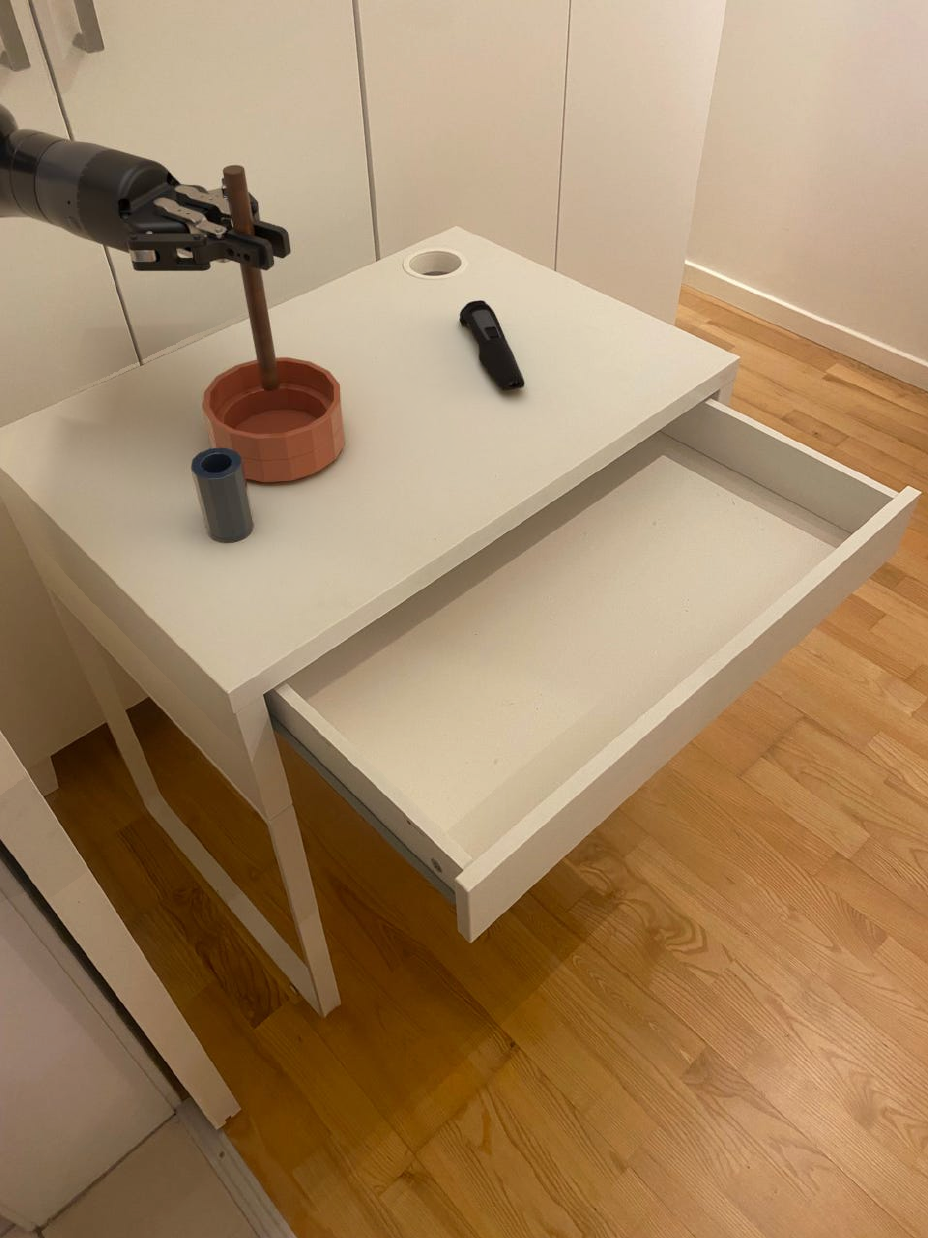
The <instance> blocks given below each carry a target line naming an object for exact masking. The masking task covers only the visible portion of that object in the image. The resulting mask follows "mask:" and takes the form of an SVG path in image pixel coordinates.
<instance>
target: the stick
mask: <svg viewBox="0 0 928 1238" xmlns="http://www.w3.org/2000/svg"><path fill="white" fill-rule="evenodd" d="M222 174H223V178H224V181H225V186H226V192H227V197H228V202H229V208H230V213H231V219H232V220H231V221H232V226H233V230H236V231H239V232H243V233H246V234H250V235H253V236H255V230H254V224H253V218H252V212H251V205H250V199H249V193H250V192H249V187H248V183H247V177H246V170H245V167H244V166H242V165H239V164H232V165H227V166H225V167H223V169H222ZM248 192H249V193H248ZM239 268H240V273H241V274H240V275H241V279H242V284H243V285H242V286H243V290H244V295H245V301H246V306H247V312H248V318H249V323H250V328H251V333H252V340H253V345H254V351H255V355H256V359H257V362H258V367H259V373H260V378H261V384H262V388H263V389H264V390H266V391H274V390H277V389H278V388H279V387H280V381H279V375H278V369H277V363H276V358H277V357H276V352H275V345H274V339H273V334H272V333H273V332H272V327H271V322H270V316H269V309H268V303H267V297H266V291H265V285H264V278H263V271H262V269H259V268H253V267H249V266H247V265H243V264H240V263H239Z"/></svg>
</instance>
